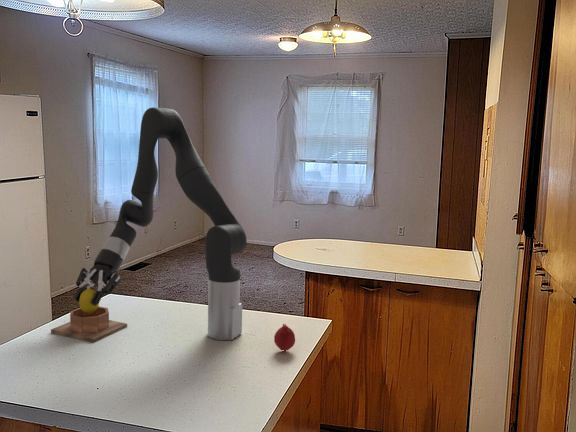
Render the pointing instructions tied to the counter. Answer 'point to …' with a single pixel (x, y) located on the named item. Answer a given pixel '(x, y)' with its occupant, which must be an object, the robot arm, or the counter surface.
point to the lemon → (87, 301)
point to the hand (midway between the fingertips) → (84, 302)
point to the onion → (284, 338)
